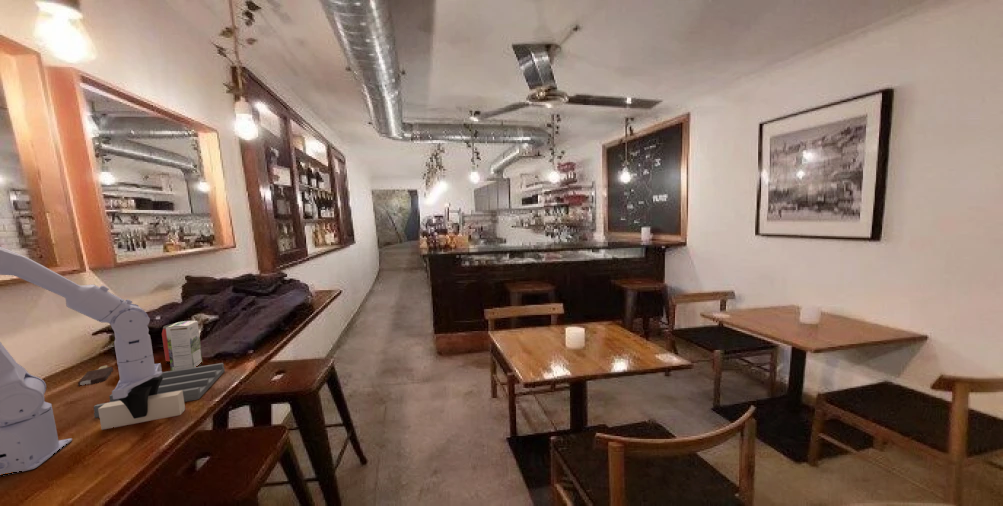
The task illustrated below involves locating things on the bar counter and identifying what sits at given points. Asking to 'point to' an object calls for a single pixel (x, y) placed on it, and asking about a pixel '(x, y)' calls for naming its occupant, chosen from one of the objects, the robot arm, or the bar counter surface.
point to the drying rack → (184, 382)
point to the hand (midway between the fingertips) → (144, 413)
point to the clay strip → (157, 409)
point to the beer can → (165, 342)
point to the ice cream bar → (96, 375)
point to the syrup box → (184, 345)
